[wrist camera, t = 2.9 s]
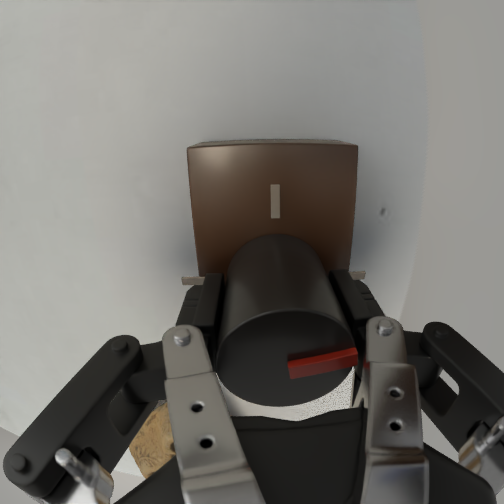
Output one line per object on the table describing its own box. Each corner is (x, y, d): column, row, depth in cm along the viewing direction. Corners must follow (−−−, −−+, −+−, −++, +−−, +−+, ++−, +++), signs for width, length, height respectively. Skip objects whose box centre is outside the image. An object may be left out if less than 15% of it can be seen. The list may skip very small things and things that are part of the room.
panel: (183, 143, 14) (166, 149, 11) (353, 141, 14) (377, 146, 11) (205, 336, 19) (198, 370, 16) (335, 331, 19) (346, 364, 16)
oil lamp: (247, 371, 20) (246, 469, 13) (250, 457, 26) (250, 519, 19) (109, 362, 20) (73, 442, 13) (153, 449, 27) (141, 507, 19)
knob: (239, 323, 15) (234, 420, 9) (216, 244, 13) (193, 330, 8) (326, 307, 14) (357, 399, 9) (317, 224, 12) (360, 300, 7)
